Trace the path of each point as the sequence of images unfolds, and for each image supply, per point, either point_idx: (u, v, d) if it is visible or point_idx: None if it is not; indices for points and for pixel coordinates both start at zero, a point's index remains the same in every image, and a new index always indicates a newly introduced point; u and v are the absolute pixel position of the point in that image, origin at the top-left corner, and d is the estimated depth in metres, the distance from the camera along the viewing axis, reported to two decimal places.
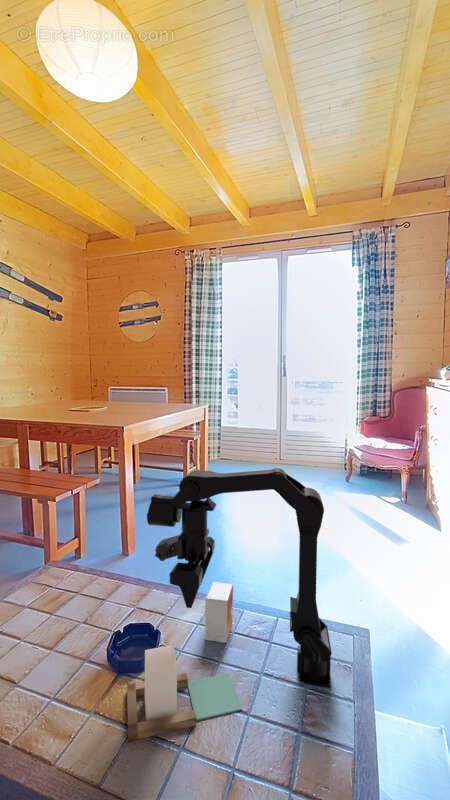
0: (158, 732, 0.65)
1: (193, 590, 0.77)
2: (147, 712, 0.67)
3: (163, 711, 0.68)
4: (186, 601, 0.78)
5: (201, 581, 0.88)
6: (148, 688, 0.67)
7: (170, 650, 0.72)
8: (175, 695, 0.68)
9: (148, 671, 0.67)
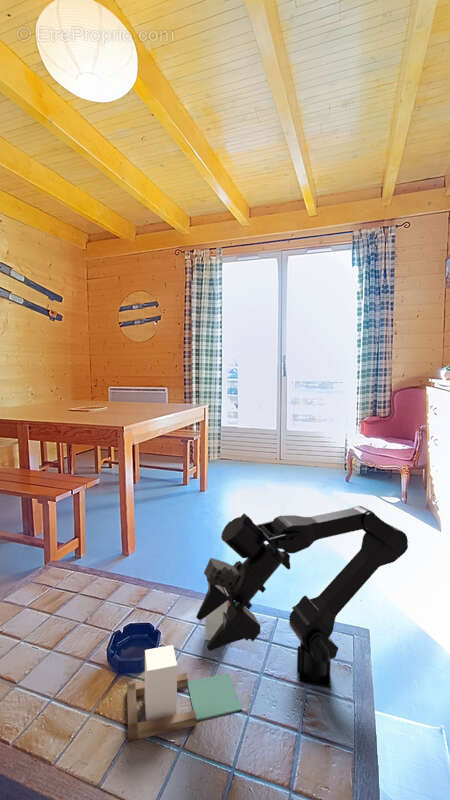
0: (158, 732, 0.65)
1: (232, 637, 0.67)
2: (147, 712, 0.67)
3: (163, 711, 0.68)
4: (213, 643, 0.67)
5: (203, 617, 0.77)
6: (148, 688, 0.67)
7: (170, 650, 0.72)
8: (175, 695, 0.68)
9: (148, 671, 0.67)
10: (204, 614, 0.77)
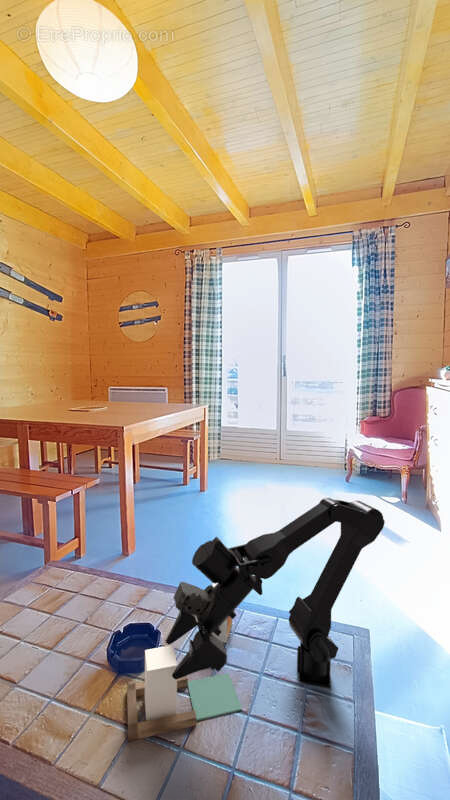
0: (158, 732, 0.65)
1: (198, 666, 0.66)
2: (147, 712, 0.67)
3: (163, 711, 0.68)
4: (179, 671, 0.66)
5: (173, 641, 0.75)
6: (148, 688, 0.67)
7: (170, 650, 0.72)
8: (175, 695, 0.68)
9: (148, 671, 0.67)
10: (174, 639, 0.75)
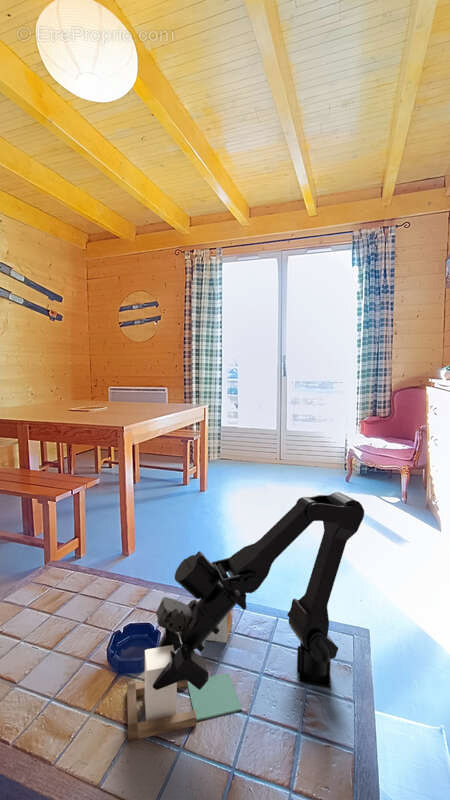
0: (158, 732, 0.65)
1: (179, 677, 0.67)
2: (147, 712, 0.67)
3: (163, 710, 0.68)
4: (159, 682, 0.67)
5: None
6: (148, 688, 0.67)
7: None
8: (175, 695, 0.68)
9: (148, 671, 0.67)
10: None
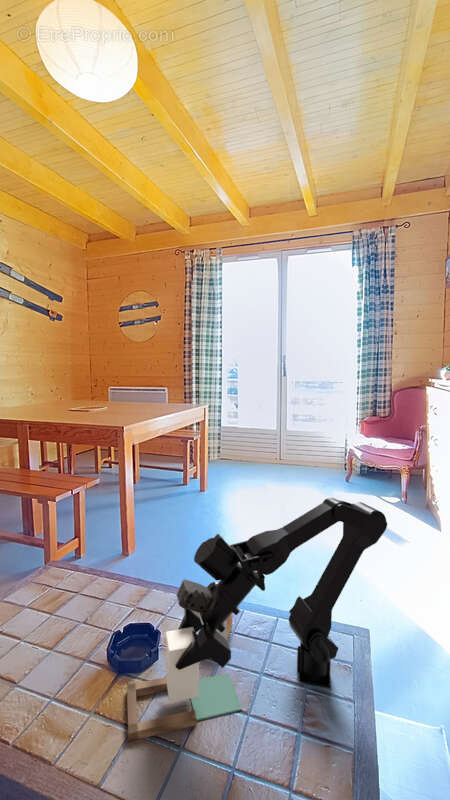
0: (158, 732, 0.65)
1: (201, 656, 0.68)
2: (170, 692, 0.68)
3: (186, 690, 0.69)
4: (182, 661, 0.68)
5: None
6: (171, 668, 0.68)
7: (190, 631, 0.73)
8: (197, 675, 0.69)
9: (170, 651, 0.68)
10: None
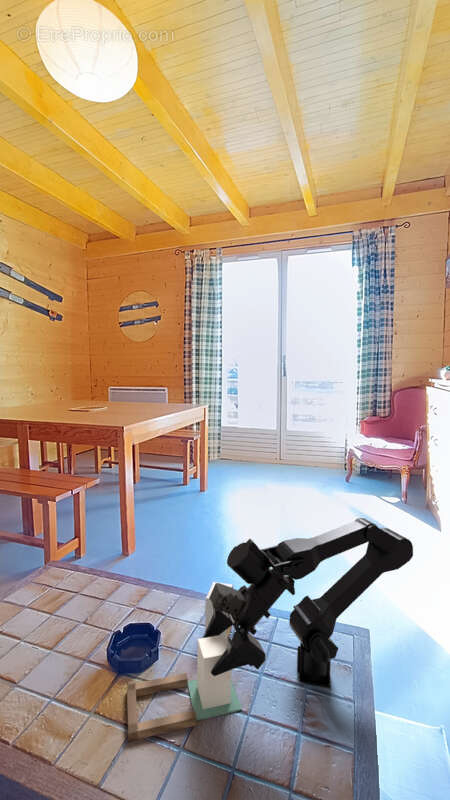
0: (158, 732, 0.65)
1: (236, 663, 0.68)
2: (203, 698, 0.70)
3: (218, 697, 0.71)
4: (218, 668, 0.68)
5: None
6: (205, 675, 0.70)
7: (222, 639, 0.75)
8: (229, 682, 0.71)
9: (205, 658, 0.70)
10: None
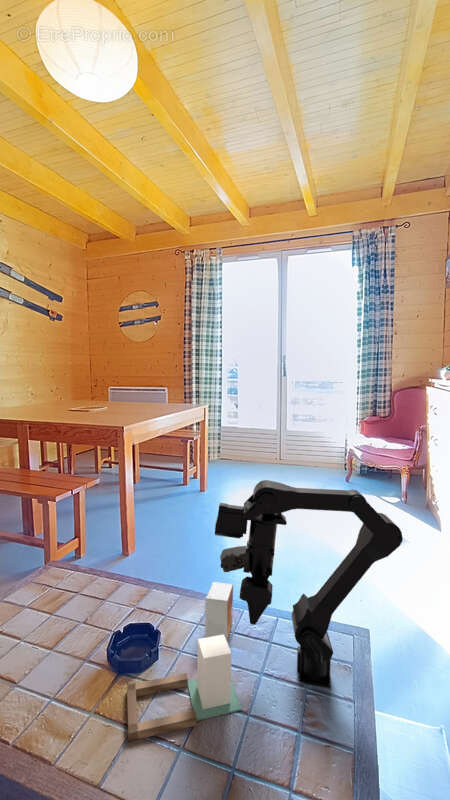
0: (158, 732, 0.65)
1: (261, 607, 0.74)
2: (203, 698, 0.70)
3: (218, 697, 0.71)
4: (251, 617, 0.75)
5: None
6: (205, 675, 0.70)
7: (222, 639, 0.75)
8: (229, 682, 0.71)
9: (205, 658, 0.70)
10: None
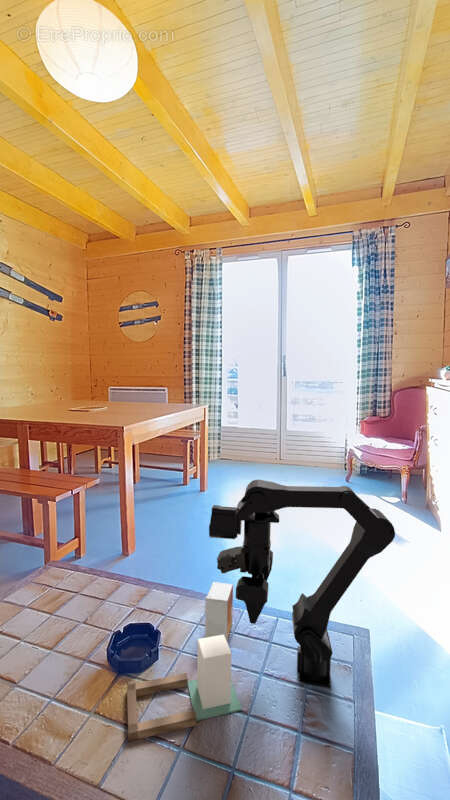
0: (158, 732, 0.65)
1: (258, 606, 0.74)
2: (203, 698, 0.70)
3: (218, 697, 0.71)
4: (250, 616, 0.75)
5: None
6: (205, 675, 0.70)
7: (222, 639, 0.75)
8: (229, 682, 0.71)
9: (205, 658, 0.70)
10: None
